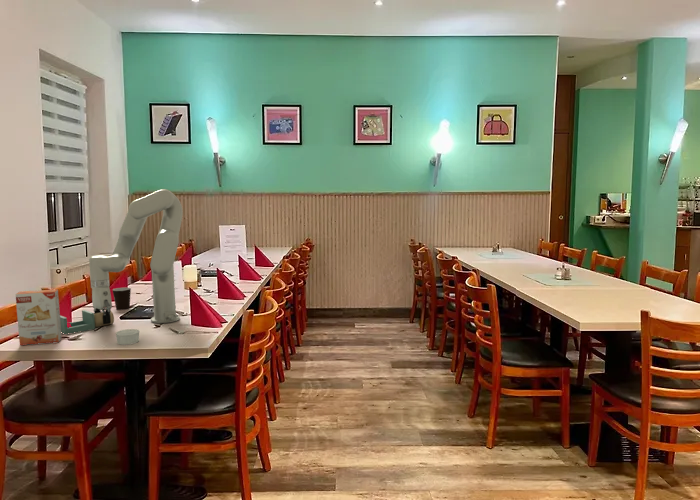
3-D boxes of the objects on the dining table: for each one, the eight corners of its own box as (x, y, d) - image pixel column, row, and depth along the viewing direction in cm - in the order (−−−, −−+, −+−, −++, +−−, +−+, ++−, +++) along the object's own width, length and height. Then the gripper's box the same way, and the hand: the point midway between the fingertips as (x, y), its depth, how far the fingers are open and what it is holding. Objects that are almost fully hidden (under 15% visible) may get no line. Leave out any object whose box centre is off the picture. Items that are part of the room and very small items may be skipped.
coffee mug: (127, 310, 276) (126, 290, 275) (110, 310, 276) (109, 290, 275) (137, 305, 287) (135, 286, 286) (120, 305, 288) (119, 286, 287)
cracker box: (19, 346, 215) (14, 293, 212) (23, 342, 221) (19, 291, 218) (58, 343, 219) (54, 291, 216) (62, 339, 225) (58, 288, 222)
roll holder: (95, 328, 240) (93, 313, 239) (65, 334, 231) (63, 318, 230) (85, 325, 247) (84, 309, 246) (56, 330, 238) (54, 315, 237)
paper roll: (109, 324, 250) (107, 311, 251) (115, 323, 246) (113, 310, 246) (91, 327, 245) (89, 314, 245) (96, 327, 240) (94, 313, 240)
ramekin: (143, 339, 223) (142, 328, 222) (135, 345, 214) (134, 334, 213) (121, 339, 222) (120, 329, 222) (112, 346, 214) (111, 335, 213)
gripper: (117, 284, 240) (119, 323, 242) (100, 280, 252) (102, 317, 254) (99, 287, 235) (102, 326, 237) (83, 282, 246) (86, 320, 248)
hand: (102, 321), depth 245 cm, fingers open, 8 cm apart
